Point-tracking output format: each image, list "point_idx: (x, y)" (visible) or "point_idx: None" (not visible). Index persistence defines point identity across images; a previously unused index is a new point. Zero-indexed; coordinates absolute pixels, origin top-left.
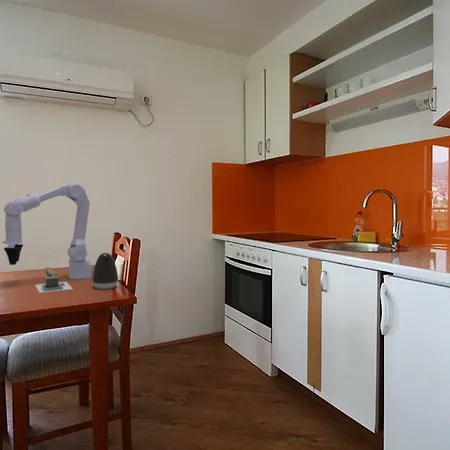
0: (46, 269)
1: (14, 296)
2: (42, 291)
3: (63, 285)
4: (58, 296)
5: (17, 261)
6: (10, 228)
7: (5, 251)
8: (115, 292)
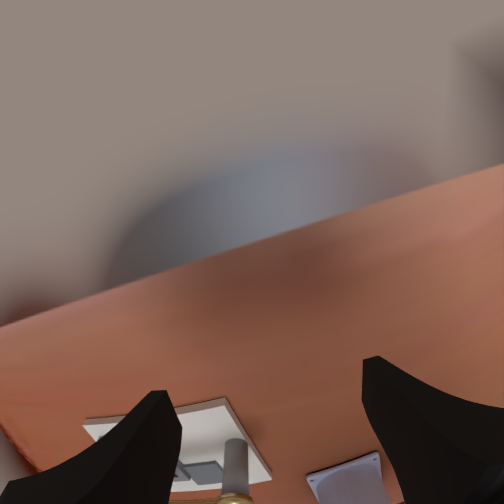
0: (217, 501)
1: (57, 346)
2: (97, 433)
3: (195, 480)
4: None
5: (362, 396)
6: None
7: (28, 477)
8: None
